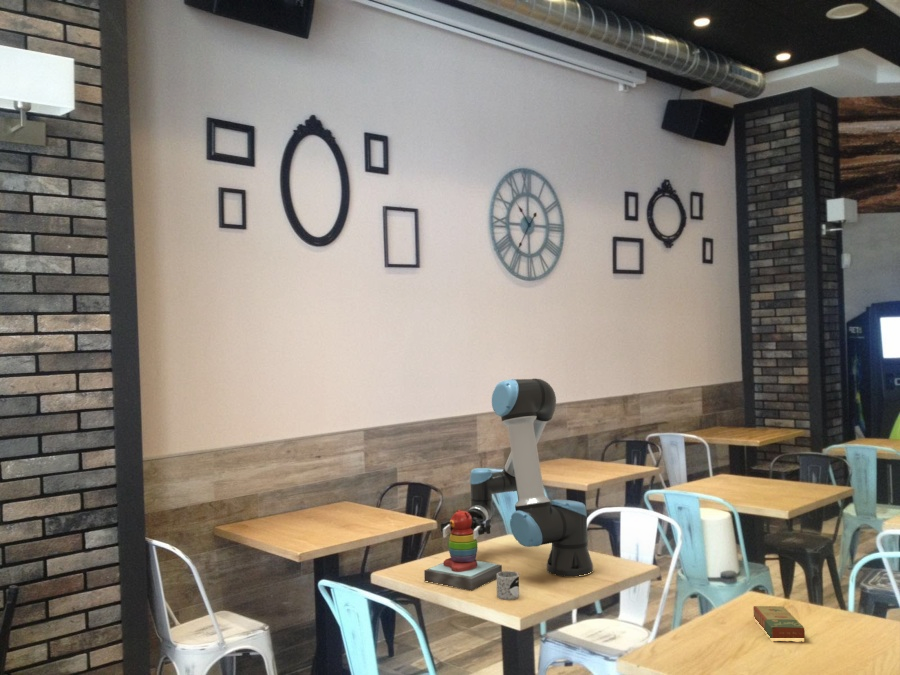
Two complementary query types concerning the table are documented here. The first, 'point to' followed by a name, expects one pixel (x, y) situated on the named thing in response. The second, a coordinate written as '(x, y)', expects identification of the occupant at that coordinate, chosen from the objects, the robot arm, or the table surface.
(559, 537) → the robot arm
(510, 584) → the mug
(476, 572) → the plinth
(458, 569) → the stacking bear
